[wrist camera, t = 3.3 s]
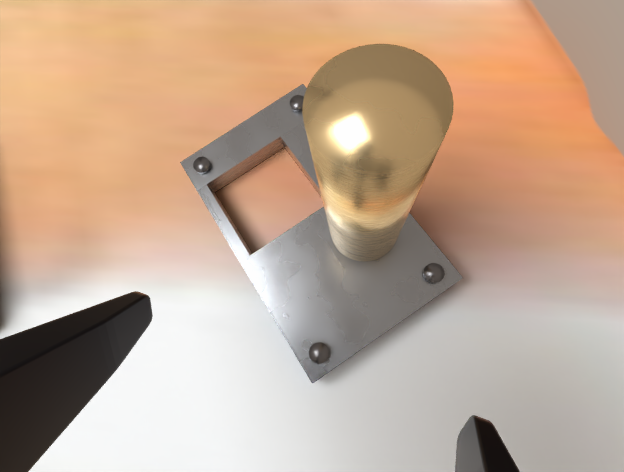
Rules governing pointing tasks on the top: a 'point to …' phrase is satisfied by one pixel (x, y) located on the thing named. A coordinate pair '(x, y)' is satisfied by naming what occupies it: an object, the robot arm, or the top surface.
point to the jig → (317, 251)
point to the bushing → (374, 141)
